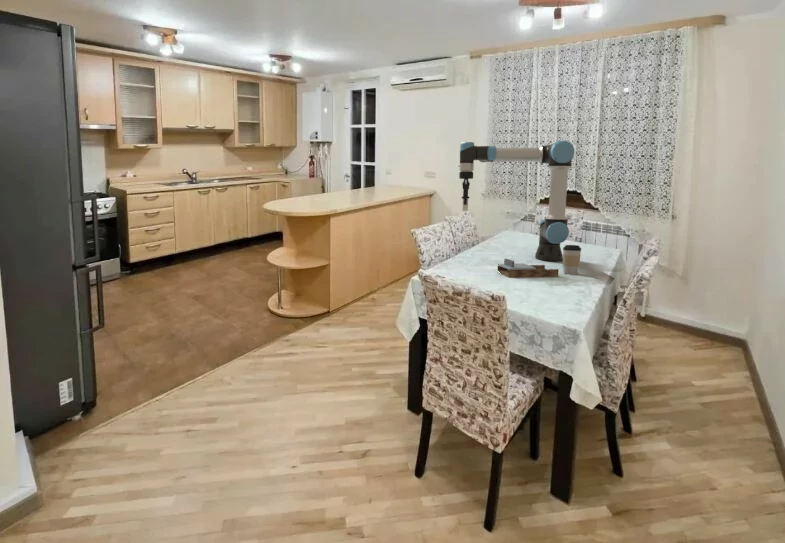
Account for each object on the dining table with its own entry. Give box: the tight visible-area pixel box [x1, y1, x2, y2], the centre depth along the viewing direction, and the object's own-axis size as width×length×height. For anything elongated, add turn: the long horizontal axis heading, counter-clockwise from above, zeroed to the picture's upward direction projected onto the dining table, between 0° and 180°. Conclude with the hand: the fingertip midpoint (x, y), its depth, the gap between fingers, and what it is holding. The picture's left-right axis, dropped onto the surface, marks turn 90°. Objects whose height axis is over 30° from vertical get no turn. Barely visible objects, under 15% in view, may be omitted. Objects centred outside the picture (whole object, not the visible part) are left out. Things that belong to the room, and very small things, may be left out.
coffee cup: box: [562, 244, 582, 276], centre depth 248 cm, size 9×9×15 cm
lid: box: [497, 258, 536, 270], centre depth 244 cm, size 14×16×4 cm
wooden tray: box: [497, 264, 559, 278], centre depth 246 cm, size 26×16×4 cm, turn 99°
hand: (465, 210), depth 265 cm, fingers open, 13 cm apart
